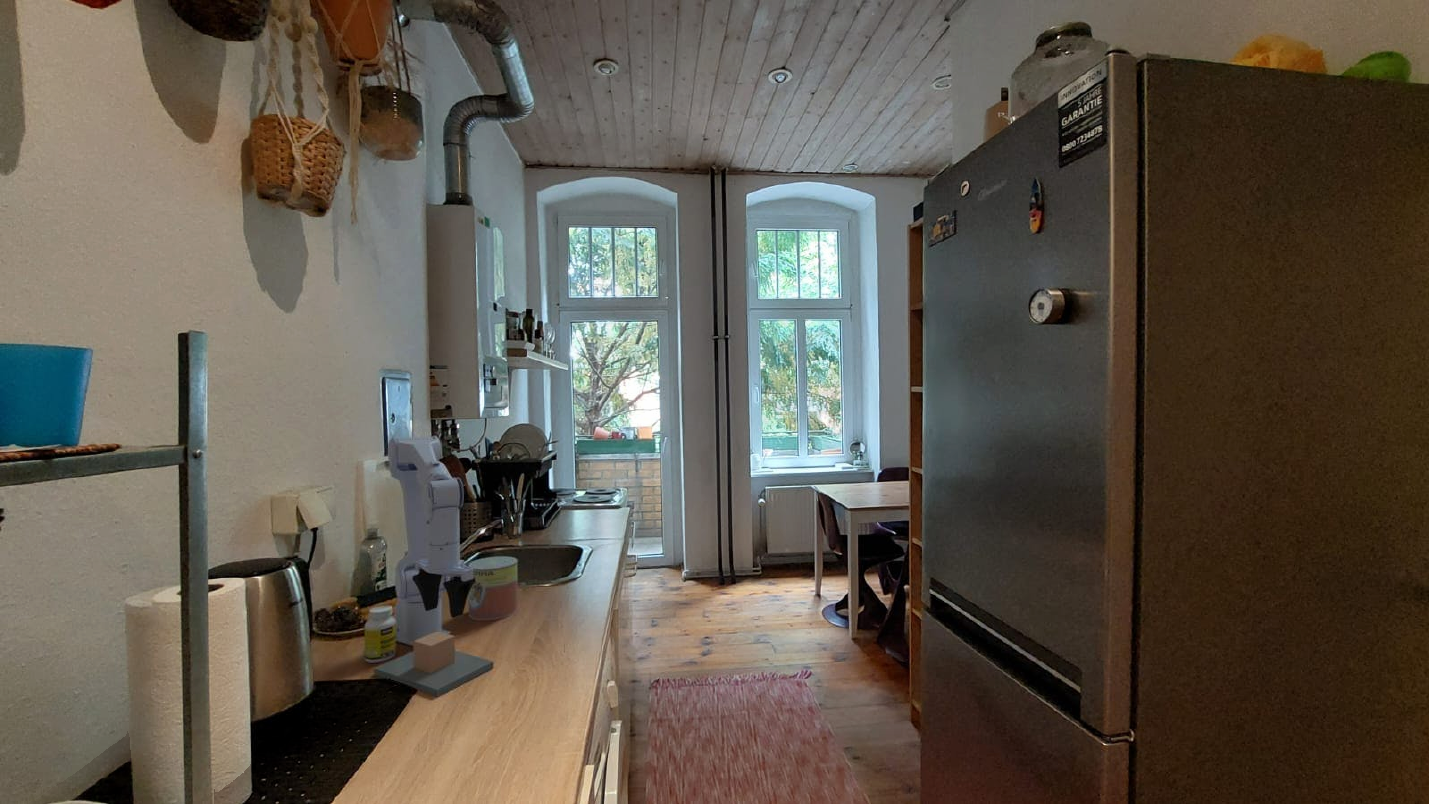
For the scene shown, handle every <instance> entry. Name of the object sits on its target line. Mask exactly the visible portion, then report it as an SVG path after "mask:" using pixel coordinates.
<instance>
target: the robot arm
mask: <svg viewBox="0 0 1429 804" xmlns="http://www.w3.org/2000/svg"><path fill="white" fill-rule="evenodd" d="M387 446H388V447H387V455H388V467H389V469H388V470H389V473H390V476H391V478H393V479H396V480H398V481H399V483H400V486H401V487H400V488H401V490H402V497H403V498H402V501H403V510H404V519H405V520H404V521H405V528H406V530H405V531H406V540H407V549H408V551H407V552H408V553H407V554H405V556H404V557H402V558H401V559H400V560H399V561H397V564H396V566H395V567H394V568H395V575H394V576H395V578H394V580H395V581H394V585H395V593H396V597H397V598H398V600H397V601H396V603H395V606H394V611H393V612H394V614H393V617H394V618H395V619H396V642H398V643H402V644H405V645H408V646H412V647H414V641H415V640H417V639H420V638H422V637H425V636H427V635H430V634H432V633H435V632H437V631H438V632H442V633H445V634H449V635H452V634H451V633H452V632H451V631H449V630H446V629H443V628H442V627H443V625H442V621H443V620H442V614H443V613H442V596H443V597H444V595H445V593H444V592H446V594H447V597H448V598H447V599H448V604H449V605H448V606H449V613H450V617H451V618H453V619H454V618H458V617H461V616H463V615H464V611H465V606H466V604H467V599H468V598H469V592H470V590H471V588H472V586H473V584H474V582H475V577H473V568H469V567H468V565H466V564H465V560H464V559H460V557H461V553H460V550H461V549H460V546H461V543H460V541H461V539H460V538H461V537H460V535H461V534H460V530H461V529H460V528H461V527H460V508H462V507H463V504H464V497H465V496H464V494H465V493H464V492H465V491H464V485H463V482H462V480H461V478H460V477H452V475H451V474H450V472H449V470H448V468H447V467H446V465H445V464H444V463H443V462H441V461H440V458H441V453H442V452H441V451H442V449H441V441H440V439H439V438H438V436H436V435H432V436H414V437H413V436H412V437H411V436H410V437H391V439H390V440H389V442H388V445H387ZM451 578H452V579H451Z"/></svg>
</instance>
